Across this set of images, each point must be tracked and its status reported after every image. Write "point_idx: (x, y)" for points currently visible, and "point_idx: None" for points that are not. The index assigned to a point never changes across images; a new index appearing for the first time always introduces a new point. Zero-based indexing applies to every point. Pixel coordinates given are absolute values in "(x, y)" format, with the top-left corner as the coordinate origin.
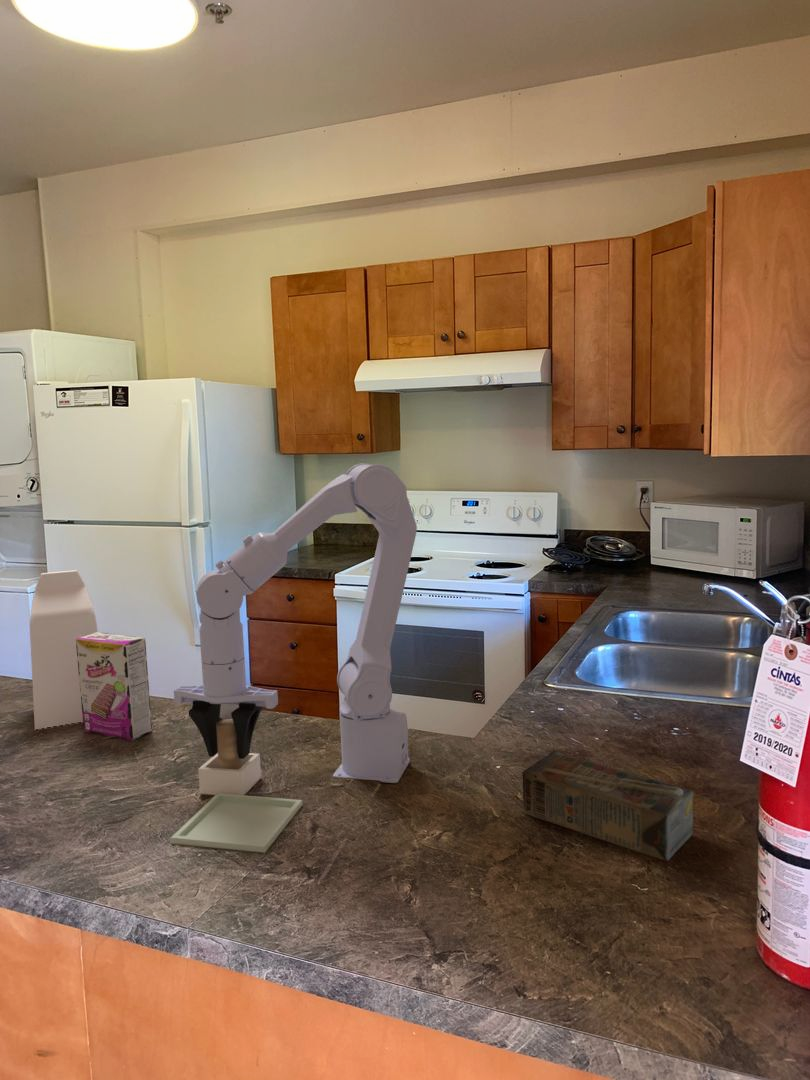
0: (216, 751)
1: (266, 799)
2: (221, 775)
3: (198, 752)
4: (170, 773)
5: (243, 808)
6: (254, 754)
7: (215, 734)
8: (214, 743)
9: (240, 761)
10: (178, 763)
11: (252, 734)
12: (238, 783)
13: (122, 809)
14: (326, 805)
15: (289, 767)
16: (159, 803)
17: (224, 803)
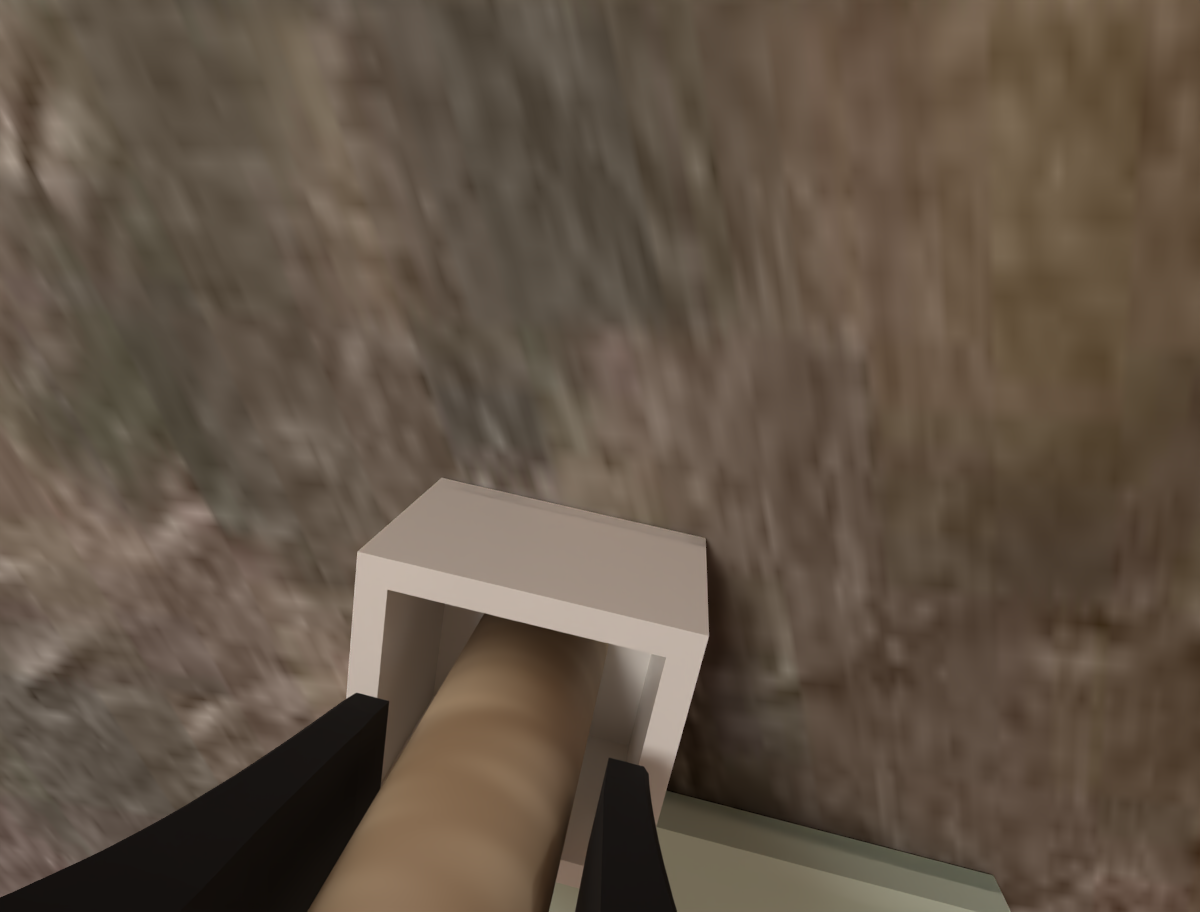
0: (375, 762)
1: (804, 886)
2: None
3: (113, 22)
4: (118, 394)
5: (684, 879)
6: (666, 643)
7: (287, 870)
8: (331, 835)
9: (585, 740)
10: (83, 237)
11: (673, 902)
12: None
13: (123, 765)
14: (1134, 857)
15: (875, 334)
16: (251, 733)
17: None
